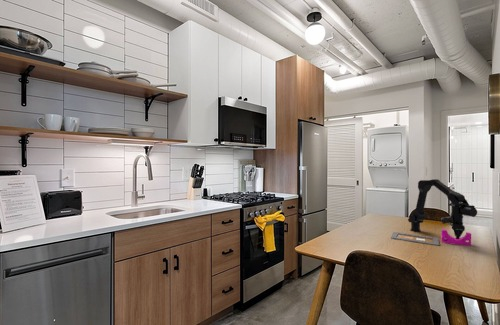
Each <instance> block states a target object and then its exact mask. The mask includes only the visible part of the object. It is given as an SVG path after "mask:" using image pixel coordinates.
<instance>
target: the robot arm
mask: <svg viewBox="0 0 500 325" xmlns="http://www.w3.org/2000/svg"><path fill="white" fill-rule="evenodd" d="M432 187H435V188H436V189H438V190H439V191H440V192H442V193H443V194H444V195H445V196H446V197H447V199H448V200H449V201H450V203H448V205H447V206H450V207H451V214H450V216H445V217H444V216H443V217H441V218H440V220H441V224H447V223H448V224H449V225H450V226H451V229H452V230H453V233H454V237H455V238H456V239H459V238H461V237H462V235H463V233H464V231H465V230H466V227H465V225H464V221H463V220H464V216H467V217H472V218H475V217H476V216H477V215H478V210H477V208H476V207H475V205H473V204H471V205H470V204H469V202H468V201H467V199H466V198H465V195H464V194H463V193H460V192H457V191H454V190H453V189H451V188H449V187H448V185H446V184H444V183H443V182H442V181H441V180H440V179H429V180H428V179H426V180H425V179H423V180H422V179H420V180H419V181H418V182H417V188H418V196H417V202H416V206H415V209H414V210H413V211H412V212H411V216H410V217H409V218H408V220H407V221H408V223H410V231H412V232H421V231H422V230H421V224H423V223H424V221H425V219H426V216H427V213H425V211H424V209H425V205H426V200H427V196H428V193H429V192H430V190H431V189H432Z"/></svg>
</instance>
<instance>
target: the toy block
mask: <svg viewBox="0 0 500 325" xmlns="http://www.w3.org/2000/svg"><path fill="white" fill-rule="evenodd" d="M441 243H443V244H444V243H445V244H451V245H459V246H463V245H465V246H471V247H472V233H471V232H467V231H466V233H465V235H464V236H461V237H460V238H459V239H456V237H455V236H452V235H450V234H449V232H448V230H447V229H445V228H443V229H441Z"/></svg>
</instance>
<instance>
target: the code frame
mask: <svg viewBox="0 0 500 325" xmlns="http://www.w3.org/2000/svg"><path fill="white" fill-rule="evenodd" d="M398 235H401V236H402V235H403V236H404V237H398ZM414 237H415V239H414ZM390 239H391V240H397V241H398V240H399V241H404V242H405V241H406V242H412V243H417V244H418V243H419V244H424V245H430V246H438V247H440V241H439V240H440V239H439V238H438V237H431V236H426V235H419V234H412V233H404V232H397V231H392V234H391V236H390ZM426 239H428V240H432V242H430V241H426Z"/></svg>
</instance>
